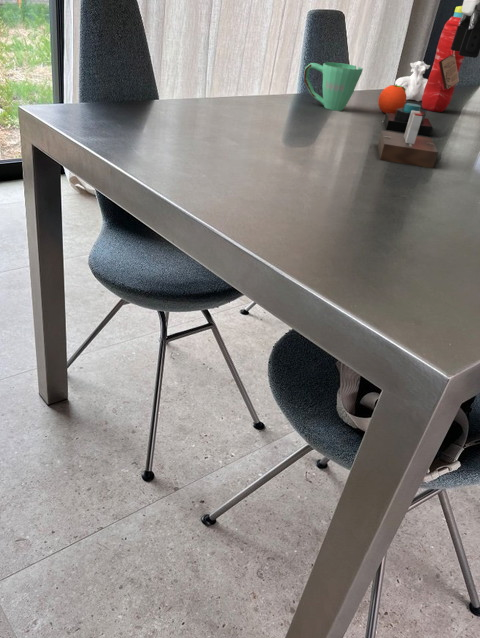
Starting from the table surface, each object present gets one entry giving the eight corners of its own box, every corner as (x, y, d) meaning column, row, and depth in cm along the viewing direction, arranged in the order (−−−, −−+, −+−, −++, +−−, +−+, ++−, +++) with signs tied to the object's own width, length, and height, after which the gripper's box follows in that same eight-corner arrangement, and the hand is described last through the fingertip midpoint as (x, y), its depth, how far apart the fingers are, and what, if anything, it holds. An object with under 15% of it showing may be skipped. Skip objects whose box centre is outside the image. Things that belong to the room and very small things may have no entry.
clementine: (390, 110, 153) (397, 81, 149) (409, 116, 149) (418, 87, 145) (369, 111, 150) (377, 81, 145) (389, 117, 145) (397, 87, 141)
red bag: (449, 117, 154) (485, 9, 140) (419, 112, 156) (451, 4, 141) (446, 109, 164) (480, 7, 149) (418, 105, 165) (448, 3, 151)
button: (417, 112, 134) (420, 104, 133) (419, 115, 131) (421, 107, 130) (402, 110, 135) (404, 102, 134) (403, 113, 132) (406, 105, 131)
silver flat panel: (403, 136, 114) (411, 108, 111) (411, 138, 113) (420, 110, 110) (405, 143, 109) (414, 114, 106) (414, 144, 109) (423, 115, 106)
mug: (357, 110, 149) (367, 67, 143) (346, 115, 142) (356, 70, 136) (305, 99, 154) (312, 58, 148) (292, 104, 147) (300, 60, 141)
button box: (425, 128, 139) (430, 110, 136) (429, 137, 131) (435, 118, 128) (384, 121, 140) (388, 104, 138) (385, 130, 132) (391, 112, 130)
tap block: (426, 153, 117) (431, 137, 115) (432, 168, 108) (438, 151, 106) (377, 145, 119) (382, 129, 117) (379, 160, 109) (384, 143, 107)
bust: (428, 109, 174) (434, 74, 174) (436, 96, 166) (443, 59, 167) (388, 104, 175) (395, 68, 175) (395, 90, 168) (402, 54, 168)
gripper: (538, -64, 87) (493, 62, 97) (512, -58, 101) (475, 52, 111) (488, -70, 88) (448, 55, 98) (469, -63, 101) (436, 46, 111)
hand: (463, 53), depth 104 cm, fingers open, 9 cm apart
